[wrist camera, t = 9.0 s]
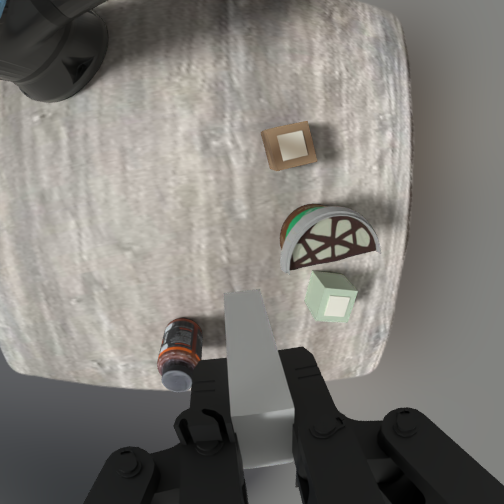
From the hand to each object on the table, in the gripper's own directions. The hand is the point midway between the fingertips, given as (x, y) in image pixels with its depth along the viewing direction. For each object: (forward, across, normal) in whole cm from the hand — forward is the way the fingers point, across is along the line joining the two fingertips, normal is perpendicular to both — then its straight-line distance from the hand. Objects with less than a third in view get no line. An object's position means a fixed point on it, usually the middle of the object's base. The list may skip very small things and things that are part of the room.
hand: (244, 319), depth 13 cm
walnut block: (+29, +8, +7) cm, 30 cm away
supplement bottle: (+29, -9, -19) cm, 36 cm away
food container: (+29, +11, -3) cm, 31 cm away
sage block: (+29, +13, -14) cm, 34 cm away
